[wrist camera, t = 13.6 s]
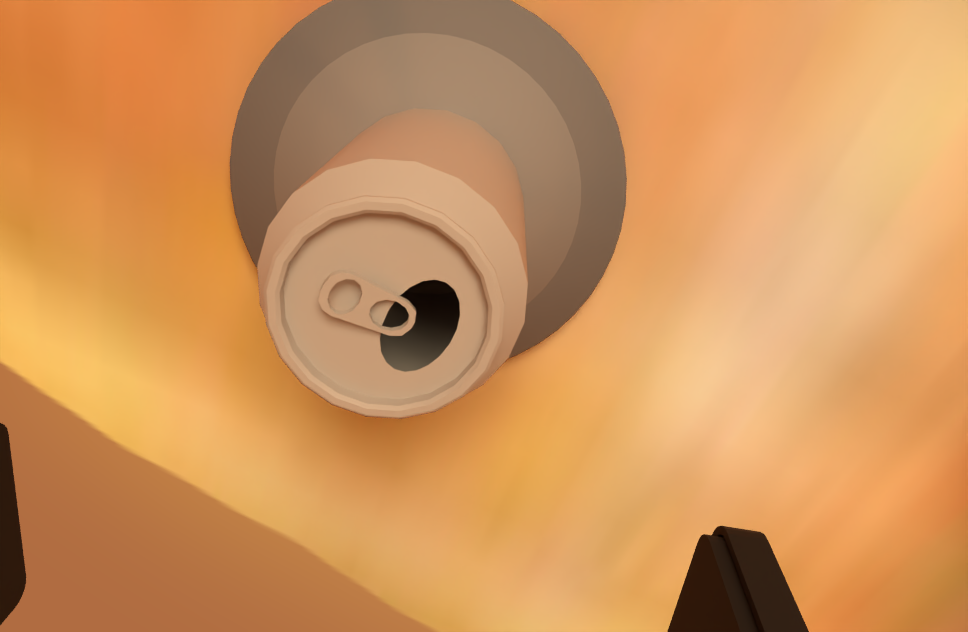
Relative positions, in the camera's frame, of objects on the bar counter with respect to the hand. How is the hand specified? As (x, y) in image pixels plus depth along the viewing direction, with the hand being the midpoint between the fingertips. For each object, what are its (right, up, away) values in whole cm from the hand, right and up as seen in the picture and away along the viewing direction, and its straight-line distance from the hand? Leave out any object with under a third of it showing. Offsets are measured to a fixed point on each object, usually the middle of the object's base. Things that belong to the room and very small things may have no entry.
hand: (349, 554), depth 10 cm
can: (0, +8, +20) cm, 22 cm away
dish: (0, +9, +21) cm, 23 cm away
